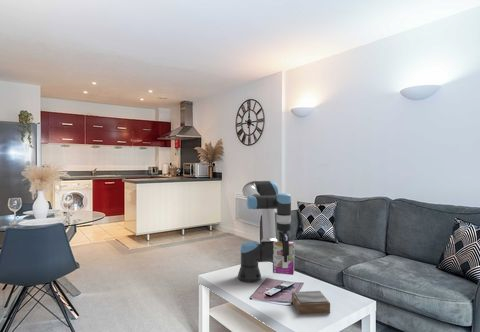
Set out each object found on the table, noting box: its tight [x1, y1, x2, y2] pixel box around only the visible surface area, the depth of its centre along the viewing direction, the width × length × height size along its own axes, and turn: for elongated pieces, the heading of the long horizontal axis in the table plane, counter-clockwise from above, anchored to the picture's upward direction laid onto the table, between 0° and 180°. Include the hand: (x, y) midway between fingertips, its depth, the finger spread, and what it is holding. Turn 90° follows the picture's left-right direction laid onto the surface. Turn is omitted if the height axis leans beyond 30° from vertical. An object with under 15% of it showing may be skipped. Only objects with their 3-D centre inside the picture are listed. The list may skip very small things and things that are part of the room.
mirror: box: [291, 290, 331, 315], centre depth 158 cm, size 14×16×6 cm
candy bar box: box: [272, 240, 295, 276], centre depth 160 cm, size 11×5×16 cm, turn 76°
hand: (283, 265), depth 160 cm, fingers closed on candy bar box, 6 cm apart
